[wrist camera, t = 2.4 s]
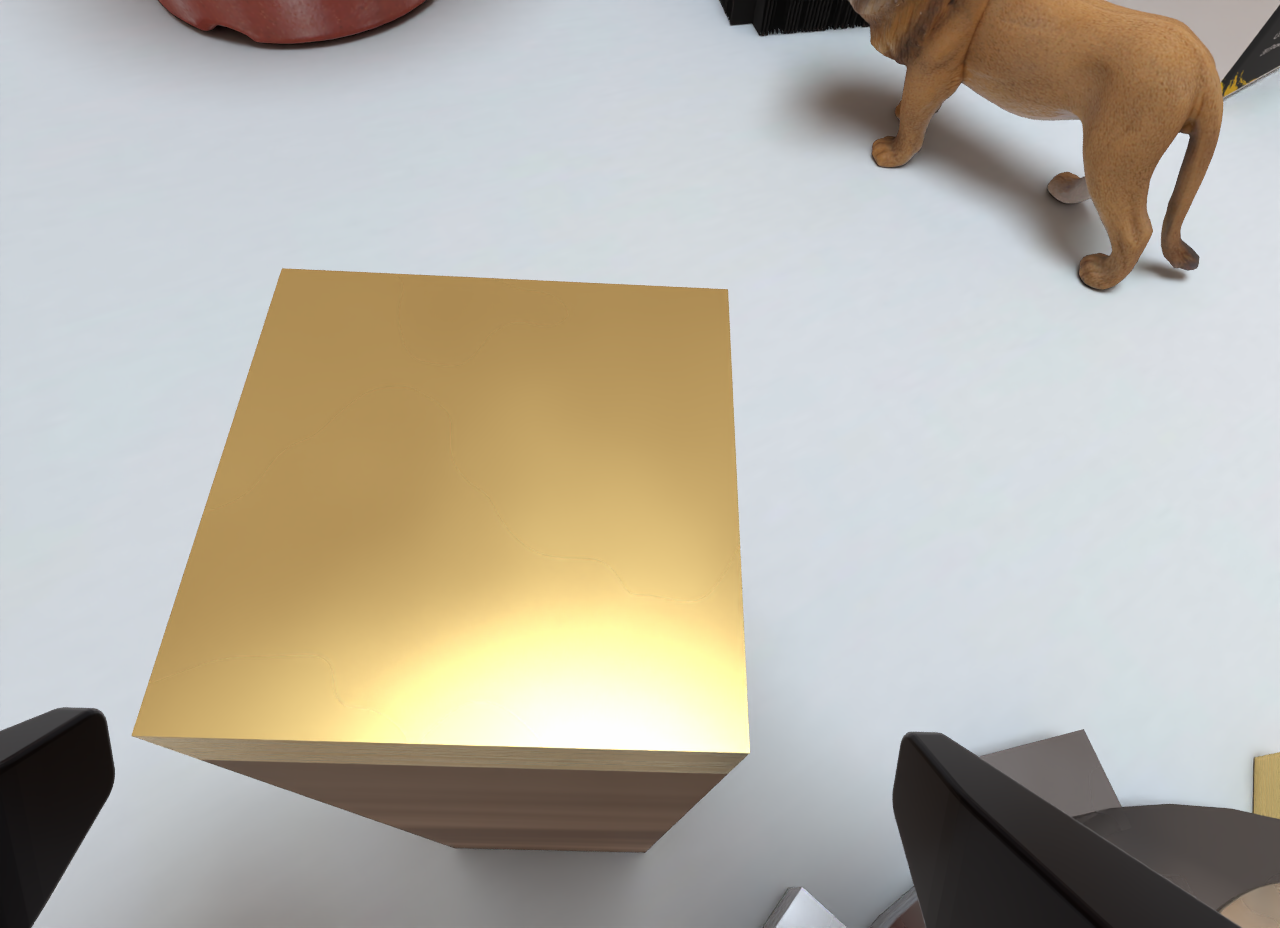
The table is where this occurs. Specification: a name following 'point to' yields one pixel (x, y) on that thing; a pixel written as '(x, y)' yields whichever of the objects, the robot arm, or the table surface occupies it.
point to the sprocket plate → (1128, 837)
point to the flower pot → (290, 17)
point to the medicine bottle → (1227, 34)
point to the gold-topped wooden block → (472, 561)
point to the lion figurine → (1067, 99)
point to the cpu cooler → (792, 14)
